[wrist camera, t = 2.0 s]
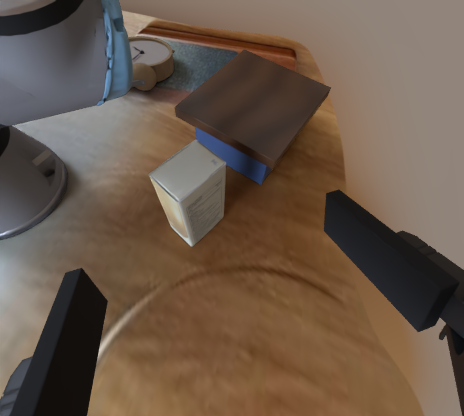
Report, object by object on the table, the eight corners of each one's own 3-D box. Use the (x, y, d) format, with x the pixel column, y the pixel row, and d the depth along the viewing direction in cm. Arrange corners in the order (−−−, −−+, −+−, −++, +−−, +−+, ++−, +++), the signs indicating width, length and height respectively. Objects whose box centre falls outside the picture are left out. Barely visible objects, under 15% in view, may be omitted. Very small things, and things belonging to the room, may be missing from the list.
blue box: (197, 148, 40) (194, 113, 33) (240, 105, 45) (244, 68, 39) (260, 184, 37) (270, 153, 31) (298, 134, 43) (312, 99, 36)
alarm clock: (183, 44, 48) (142, 74, 39) (183, 71, 52) (146, 103, 43) (131, 30, 49) (79, 56, 40) (135, 57, 53) (89, 86, 44)
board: (175, 116, 33) (174, 107, 32) (243, 58, 40) (244, 49, 39) (273, 169, 30) (275, 161, 28) (327, 96, 37) (331, 87, 36)
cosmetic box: (202, 198, 35) (198, 136, 24) (224, 217, 34) (230, 160, 23) (167, 227, 33) (145, 172, 22) (190, 249, 31) (178, 202, 21)
